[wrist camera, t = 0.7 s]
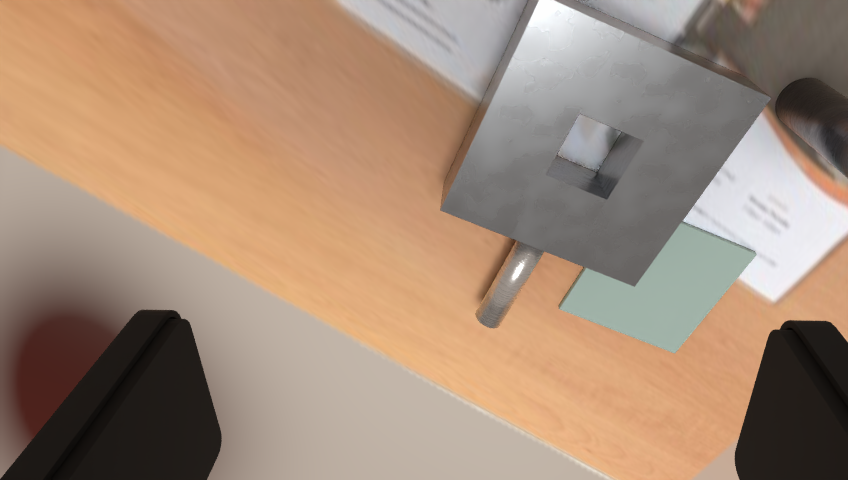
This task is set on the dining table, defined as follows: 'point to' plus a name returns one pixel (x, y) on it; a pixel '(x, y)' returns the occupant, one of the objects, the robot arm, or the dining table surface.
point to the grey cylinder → (817, 118)
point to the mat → (663, 289)
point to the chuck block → (626, 162)
